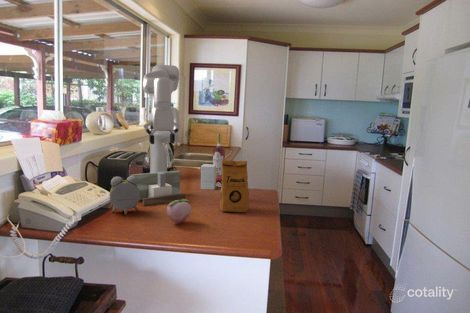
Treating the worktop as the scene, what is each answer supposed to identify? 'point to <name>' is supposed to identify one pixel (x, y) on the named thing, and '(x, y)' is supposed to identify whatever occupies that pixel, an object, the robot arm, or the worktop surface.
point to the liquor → (218, 158)
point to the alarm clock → (124, 193)
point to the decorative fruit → (179, 210)
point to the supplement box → (208, 176)
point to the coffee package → (234, 187)
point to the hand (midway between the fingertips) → (162, 143)
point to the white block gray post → (159, 187)
